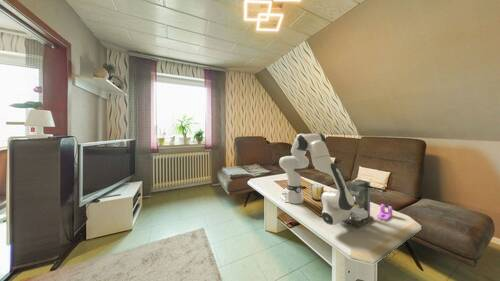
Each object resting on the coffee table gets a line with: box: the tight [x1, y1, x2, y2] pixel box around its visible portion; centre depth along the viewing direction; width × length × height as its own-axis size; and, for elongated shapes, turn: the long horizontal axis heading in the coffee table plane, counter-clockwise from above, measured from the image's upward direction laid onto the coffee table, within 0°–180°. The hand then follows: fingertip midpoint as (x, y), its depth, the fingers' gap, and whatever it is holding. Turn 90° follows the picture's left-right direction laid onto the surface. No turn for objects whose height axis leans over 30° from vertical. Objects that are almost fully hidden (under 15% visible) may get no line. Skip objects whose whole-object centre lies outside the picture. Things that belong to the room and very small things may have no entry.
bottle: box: [351, 202, 359, 219], centre depth 112 cm, size 5×5×10 cm
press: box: [342, 178, 387, 229], centre depth 109 cm, size 18×20×25 cm
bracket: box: [376, 203, 393, 222], centre depth 116 cm, size 13×6×7 cm, turn 126°
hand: (355, 206), depth 112 cm, fingers open, 8 cm apart
